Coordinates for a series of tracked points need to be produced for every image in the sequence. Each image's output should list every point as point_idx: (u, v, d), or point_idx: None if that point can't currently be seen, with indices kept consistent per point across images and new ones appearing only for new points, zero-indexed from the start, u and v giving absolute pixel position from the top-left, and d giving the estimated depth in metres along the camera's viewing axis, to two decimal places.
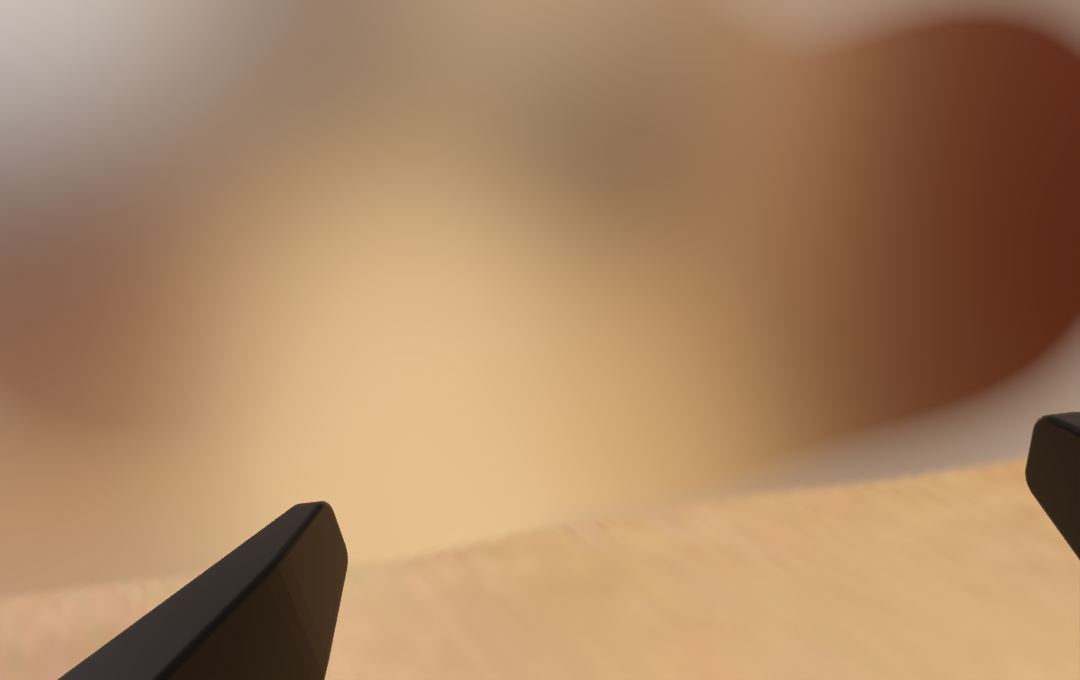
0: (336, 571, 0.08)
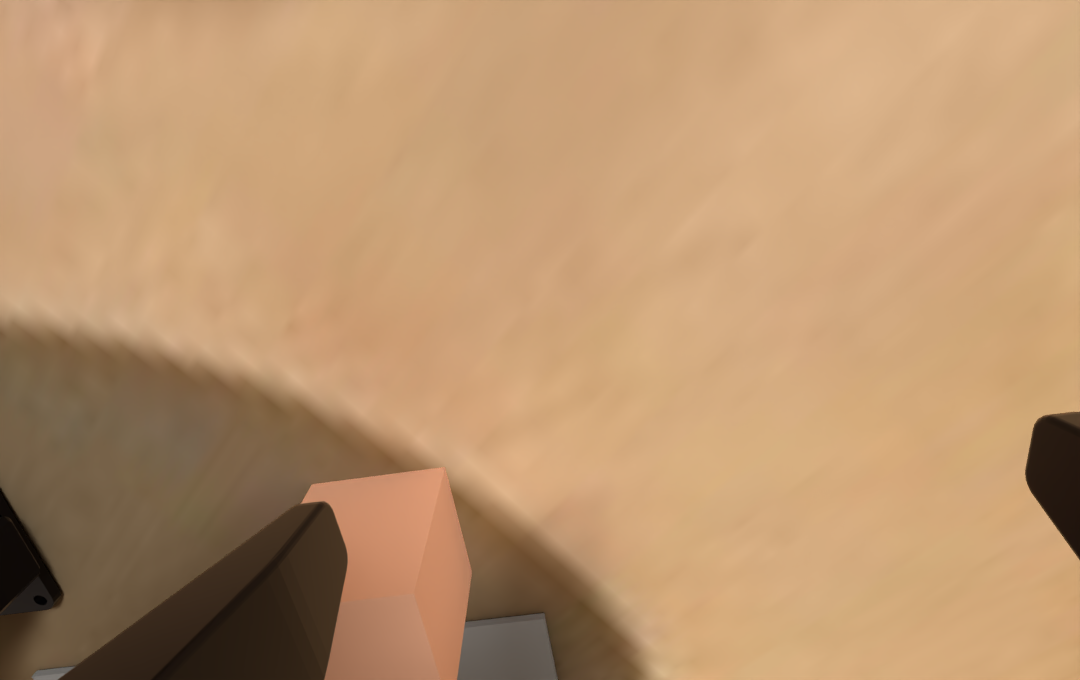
0: (336, 571, 0.08)
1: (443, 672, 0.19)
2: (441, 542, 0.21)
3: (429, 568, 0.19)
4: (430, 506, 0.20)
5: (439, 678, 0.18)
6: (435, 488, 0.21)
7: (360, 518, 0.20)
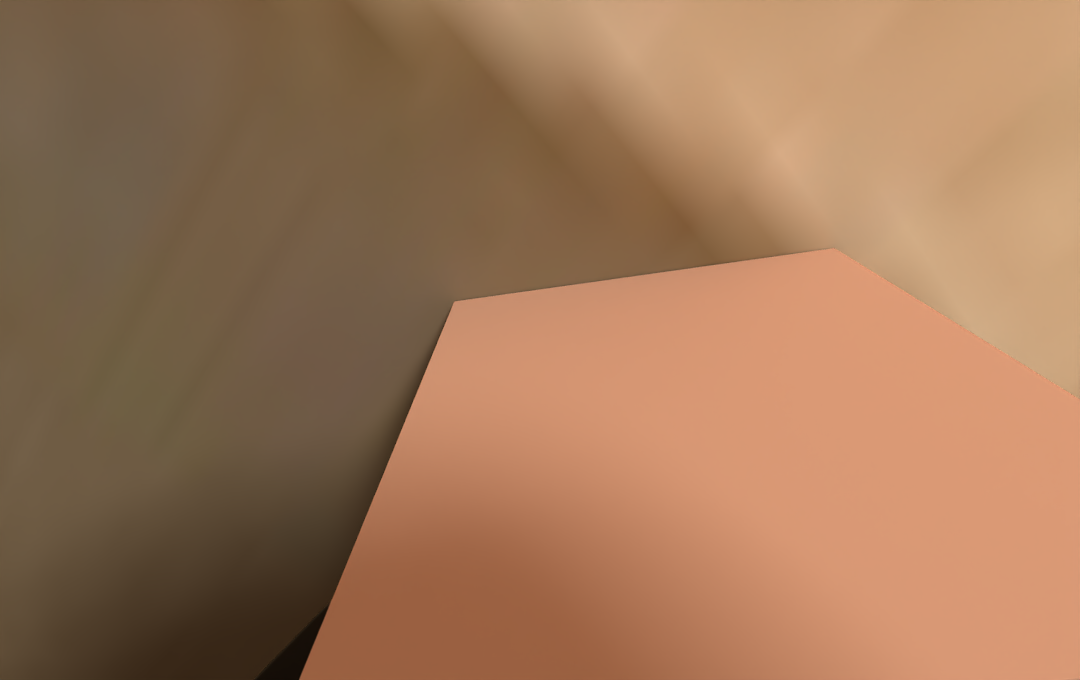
0: None
1: None
2: None
3: None
4: (917, 311, 0.06)
5: None
6: (867, 280, 0.07)
7: (673, 351, 0.06)
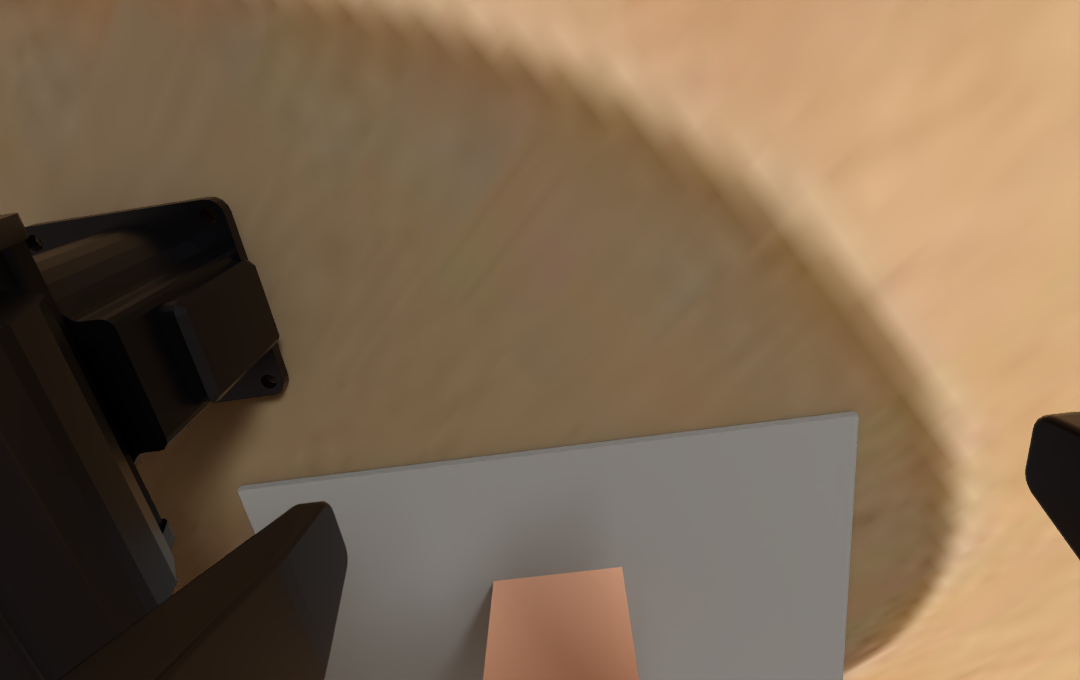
0: (336, 571, 0.08)
1: None
2: None
3: None
4: (624, 614, 0.22)
5: None
6: (621, 593, 0.22)
7: (558, 625, 0.22)
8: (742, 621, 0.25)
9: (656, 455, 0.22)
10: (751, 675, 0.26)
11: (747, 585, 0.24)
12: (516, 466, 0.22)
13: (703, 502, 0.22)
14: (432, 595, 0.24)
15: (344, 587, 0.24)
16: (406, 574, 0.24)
